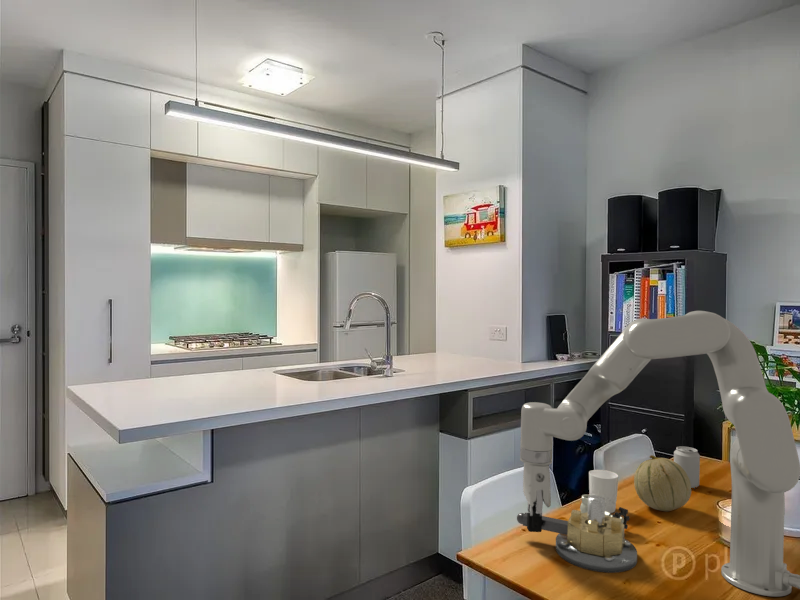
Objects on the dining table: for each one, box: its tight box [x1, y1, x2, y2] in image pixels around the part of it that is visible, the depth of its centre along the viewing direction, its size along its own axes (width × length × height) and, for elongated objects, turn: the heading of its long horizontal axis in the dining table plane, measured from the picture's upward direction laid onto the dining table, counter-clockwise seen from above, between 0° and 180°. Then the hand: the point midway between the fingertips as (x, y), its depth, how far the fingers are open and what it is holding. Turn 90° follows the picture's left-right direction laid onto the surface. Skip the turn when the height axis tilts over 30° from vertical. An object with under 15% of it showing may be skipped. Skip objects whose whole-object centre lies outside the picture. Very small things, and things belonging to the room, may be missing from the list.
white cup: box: [588, 469, 619, 514], centre depth 156 cm, size 8×8×10 cm
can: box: [673, 446, 701, 489], centre depth 177 cm, size 8×8×12 cm
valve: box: [579, 494, 630, 530], centre depth 145 cm, size 7×7×12 cm
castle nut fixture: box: [516, 509, 625, 556], centre depth 132 cm, size 25×12×7 cm, turn 63°
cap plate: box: [555, 494, 638, 574], centre depth 129 cm, size 18×18×13 cm
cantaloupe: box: [633, 454, 692, 512], centre depth 157 cm, size 15×15×15 cm
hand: (534, 530), depth 133 cm, fingers closed
